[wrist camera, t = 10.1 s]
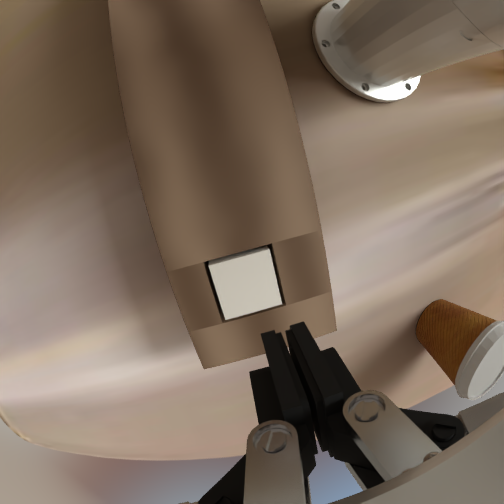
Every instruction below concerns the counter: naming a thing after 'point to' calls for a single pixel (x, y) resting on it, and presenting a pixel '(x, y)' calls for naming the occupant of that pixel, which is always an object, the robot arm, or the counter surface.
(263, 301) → the white peg
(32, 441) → the counter surface
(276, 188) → the walnut block
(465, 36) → the robot arm
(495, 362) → the disposable coffee cup
